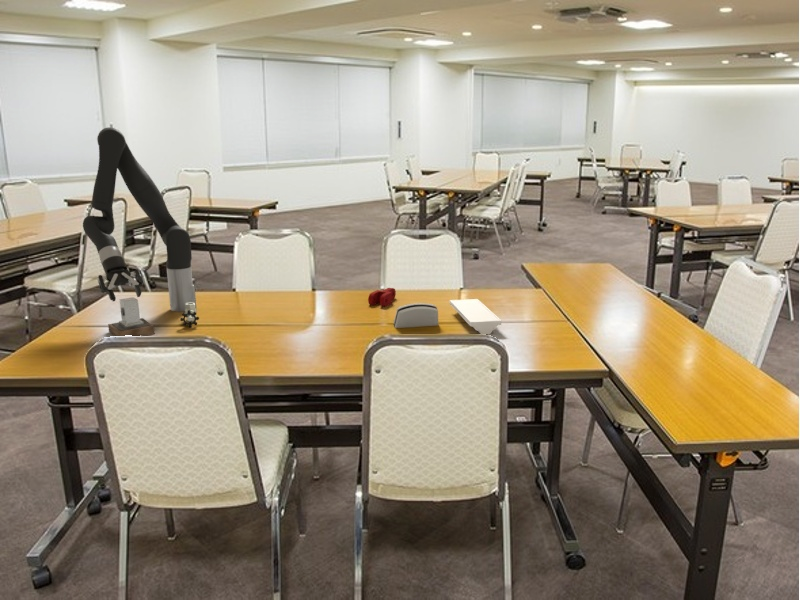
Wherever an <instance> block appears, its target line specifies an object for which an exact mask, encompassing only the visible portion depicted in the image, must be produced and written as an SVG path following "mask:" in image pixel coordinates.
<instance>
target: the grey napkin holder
mask: <svg viewBox="0 0 800 600" xmlns="http://www.w3.org/2000/svg"><path fill="white" fill-rule="evenodd" d="M393 325H394V328H395V329H400V328H403V329H404V328H416V327H418V328H419V327H431V326H432V327H433V326H439V310H438V307H437V306H436V305H435V304H432V303H426V302H415V303H413V302H412V303H409V304H405V305H401V306H398V307H397V308H396V312H395V317H394V320H393Z"/></svg>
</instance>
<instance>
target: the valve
mask: <svg viewBox="0 0 800 600" xmlns="http://www.w3.org/2000/svg"><path fill="white" fill-rule="evenodd" d="M185 306H186V309H185V311H182V313H181V316H183V317H180V319H179V321H181V322H183V323H182V325H183V327H186V326H188V328H189V329H190V328H192V327H193V325H194V326H197V325H198V322H196V321H199V320H200V317H199V316H197V307H196V308H195V303H193V302H190V303H186V304H185Z"/></svg>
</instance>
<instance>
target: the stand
mask: <svg viewBox="0 0 800 600" xmlns="http://www.w3.org/2000/svg"><path fill="white" fill-rule="evenodd" d="M140 320H141V321H143V323H144V325H138V326H133V327H128V328H124V327H123V326H122V325H120V324H119V321H118V322H113V323H108V324H107V326H108V327H107V328H108V333H109V334H111V336H113V337H114V336H125V335H132V336H140V335H146V336H149V335H151V336H152V335H155V325H153V324H152V323H151V322H149V321H148V320H146V319H145V318H143V317H140Z"/></svg>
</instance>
